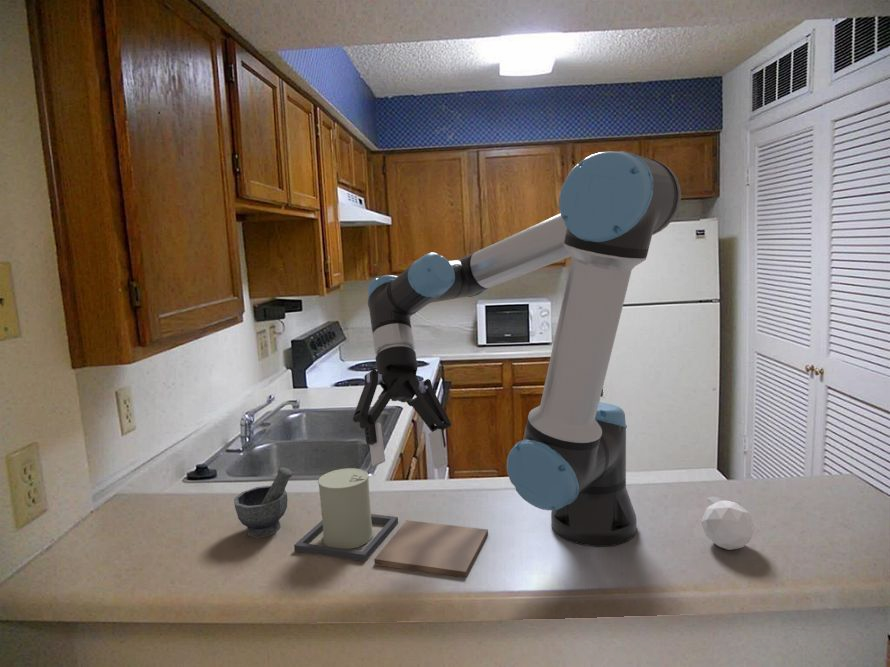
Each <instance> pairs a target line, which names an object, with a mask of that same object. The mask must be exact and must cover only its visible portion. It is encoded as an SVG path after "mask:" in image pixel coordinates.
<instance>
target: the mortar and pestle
mask: <svg viewBox="0 0 890 667" xmlns="http://www.w3.org/2000/svg"><path fill="white" fill-rule="evenodd" d="M292 477H293V472H292V470H290V469H289V468H287V467H283V466H282V467H279V468H278V469H277V475H276V477H275V478H274V479H273V482H272V484H271V485H264V486H256V487H253V488H250V489H247V490H245V491H242V492H240V493H239V494H238V495H237V496H236V497H235V498H233V502H234V504H233V505H234V507H235V508H234V509H235V512H236V515H237V519H238V520H239V522H240V523H241V524H242V525H243V526H244V527H247V528H246V530H247V535H248V537H252V538H255V539H256V538H257V539H258V538H265V537H266V538H267V537H269V536H272V535H274V534H276V533H277V532H278V531H279V530H280V529H281V528H282V527H281V522H280V519H281V518H283V516H284V515H285V513H286V510H287V508H288V494H287V493H288V492H287V491H286V487H287V485H288V482H289V479H290V478H292Z"/></svg>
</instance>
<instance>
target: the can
mask: <svg viewBox="0 0 890 667" xmlns="http://www.w3.org/2000/svg"><path fill="white" fill-rule="evenodd" d="M369 477H370V476H369V473H368V472H367V471H366V470H365V469H364V470H363V469H360V468H354V467H353V468H352V467H351V468H350V467H349V468H347V467H345V468H340V469H336V470H331V471H329V472H326V473H324V474H322V475H321V476H320V477H319V478H318V481H317V482H318V490H319V497H320V510H321V521H322V522H323V531H322V533H323V536H322V542H323V544H324V546H328V547H336V548H343V549H350V550H352V549H355V548H358V547H362V546H364V545H366V544H367V543H368V542H369V541H371V539H373V538H374V537H373V536H374V530H373V523H372V521H371V514H372V513H371V512H372V510H371V499H370V498H371V497H370V483H369V481H370V480H369Z"/></svg>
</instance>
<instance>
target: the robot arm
mask: <svg viewBox="0 0 890 667" xmlns="http://www.w3.org/2000/svg"><path fill="white" fill-rule="evenodd" d="M559 192H560V193H559V200H558V206H559V207H558V208H559V214H556V215H554V216H552V217H550V218H548V219H545V220H543V221H541V222H539V223H537V224H534V225H532V226H530V227H528V228H525V229H523V230H521V231H519V232H517V233H514V234H512V235H510V236H508V237H506V238H503V239H501V240H499V241H497V242H495V243H493V244H490V245H488V246H485V247H484V248H481V249H479V250H477V251H475V252H473V253H471V254H468V255H466V256H464V257H462V258H459V259H453V260H448V259H447V258H446V257H445V256H443V255H439V254H438V253H437V252H428V253H425V254H424V255H423V256H421V257H420V258H418V259H415V261H413V262H412V264H411V265H409V266H408V267H407V268H406V269H405V270H403V272H401V273H400V274H399V275H391V274H385V275H381V276H380V277H376V278H374V279H373V280H372V281H370V283H369V284H368V286H367V306H368V309H369V311H368V312H369V317H370V325H371V333H372V341H373V348H374V354H375V364H376V365H375V366H376V369H371V371H369V372H367V373H366V374H365V375H364V377H363V378H364V379H363V380H364V383H363V384H364V386H363V387H362V388H363V389H362V391H361V394H360V396H359V400H358V403H357V405H356V408H355V411H354V414H353V417H352V420H353V422H354V423H359V427H360V428H361V429H364V435H365V442H366V444H367V446H368V445H369V452H370V460H371V467H377V466H379V465H381V464H384V463H385V462H386V454H385V449H384V446H385V445H384V438H383V432H382V431H383V429H382V423H381V422H377V421H378V419H379V418H380V416H381V415H382V413H383V411H384V410H385V408H386V407H387V405H388V403H389V402H390V401H392V402H401V403H406V404H407V405H408V406H409V407H412V408H413V410H414V411H415V412H416V413H417V414H418V416H419V417H420V419H421V420H422V421H423V423H424V424H425V425H426V427H428V429H429V430H430V431H431V432H429V433H428V438H429V444H430V451H431V458H432V464H433V469H436V470H438V469H440V468H442V467H444V466H446V465H448V460H447V455H446V449H445V448H446V446H447V444H446V440H445V439H446V438H445V430H447V429H449V428H451V427H452V423H451V420H450V419H449V417H448V415H447V413H446V411H445V409H444V407H443V405H442V404H441V403H440V400H439V398H438V396H437V395H436V393H435V391H434V388H433V385H432V384H433V383H432V381H431V379H429V378H427V379H425V380H419V378H418V377H417V371H418V367H419V366H418V360H417V359H418V358H417V356H416V351H415V348H416V347H415V342H414V336H413V328H412V325H411V324H412V322H411V317H412V316H413V315H414V314H416V313H418V312H419V311H420V310H422V309H423V308H425V307H426V306H427V305H430V304H433V303H437V302H443V301H451V300H455V299H461V298H467V297H468V298H472V297H473V298H474V297H476V296H479V295H481V294H484V293H486V291H488V289H490V288H492V287H496V286H498V285H500V284H503V283H505V282H508V281H510V280H514V279H515V278H519V277H522V276H524V275H526V274H529V273H532V272H534V271H537V270H539V269H542V268H544V267H547V266H549V265H552V264H555V263H558V262H560V261H562V260H565V259H567V258H570V260H571V261H570V264H569V270H568V274H567V278H566V283H565V288H564V292H563V298H562V300H561V307H560V311H559V316H558V321H557V325H556V330H555V334H554V340H553V344H552V349H551V353H550V358H549V362H548V368H547V372H546V376H545V381H544V387H543V391H542V396H541V400H540V405H538V406H537V407H534V408H533V409H531V410H530V411H529V413H528V415H527V419H526V425H525V427H524V428H525V429H524V434H523V439H522V440H520V441H518V442H516V443H515V444H514V445H513V447H512V448H511V450H510V451H509V453H508V455H507V459H506V471H507V475H508V478H509V480H510V481H509V482H510V483H511V485H512V486H514V488H515V491H516V493H518V495H519V496H520V497H521V498H522V499H523V500H524V501H525V502H527V503H528V504H530V505H531V506H532V507H535V508H538V509H540V510H544V511H551V512H550V515H551V516H550V519H551V527H552V529H553V531H554V532H555V533H556V534H557V535H559V537H562V538H563V539H565V540H567V541H569V542H572V543H576V544H579V545H585V546H592V547H607V546H608V547H609V546H616V545H620V544H622V543H625V542H627V541H629V540H631V539H632V538H633V537H634V536H635V535H636V534H637V514H636V512H635V510H634V507H633V504H632V501H631V498H630V496H629V495H630V494H629V492H628V489H627V481H626V480H627V427H628V426H627V424H626V413H625V411H624V410H623V408H621V407H620V406H617V405H615V404H611V403H606V402H600V399H601V397H602V393H603V388H604V384H605V380H606V376H607V373H608V372H607V371H608V367H609V365H610V364H609V363H610V360H611V355H612V351H613V349H614V348H613V347H614V344H615V339H616V336H617V331H618V326H619V323H620V319H621V316H622V315H621V314H622V310H623V307H624V304H625V297H626V294H627V291H628V286H629V282H630V279H631V275H632V270H633V269H634V268H635V267H636V266H638V265H639V264H642V263H643V262H644V261H646V260H647V258H648V257H647V256H648V253H649V250H650V245H651V241H652V237H653V236H654V235H656V234H658V233H660V232H662V231H663V230H664V229H665V228H667V227H668V225H670V224H671V223H672V222H673V221H674V219H675V217H676V216H677V214H678V211H679V208H680V205H681V200H682V192H681V185H680V183H679V179H678V177H677V176H676V174H675V173H674V172H673V170H671V168H669V167H668V166H667V165H666V164H664V163H663V162H661V161H659V160H655V159H652V158H647V157H643V156H641V155H637V154H635V153H631V152H627V151H624V150H622V151H600V152H597V153H594V154H591V155H589V156H587V157H585V158H584V159H583V160H581V161H580V162H579V163H577V164H576V165H575V166H574V167H573V168H572V169H571V170H570V172H568V175H567V176H566V178H565V179H564V182H563V184H562V186H561V189H560V191H559ZM378 384H379V386H380V387H381V389H382V391H381V393H380V394H379V395H378V397H377V399H376V401H375V403H374V404H373V406H372V407H371V405H372V402H373V399H374V396H375V393H376V390H377V387H378Z"/></svg>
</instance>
